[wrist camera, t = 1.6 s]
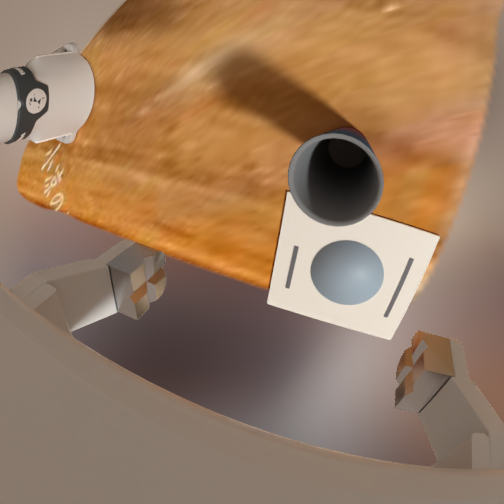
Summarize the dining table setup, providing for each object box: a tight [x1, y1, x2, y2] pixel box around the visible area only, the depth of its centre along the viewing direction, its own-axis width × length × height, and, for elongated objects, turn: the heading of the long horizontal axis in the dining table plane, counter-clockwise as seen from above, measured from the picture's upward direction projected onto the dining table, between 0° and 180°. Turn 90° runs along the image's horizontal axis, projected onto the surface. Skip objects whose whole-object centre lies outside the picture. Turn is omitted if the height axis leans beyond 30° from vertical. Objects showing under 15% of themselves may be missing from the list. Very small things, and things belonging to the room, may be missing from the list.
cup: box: [288, 127, 384, 227], centre depth 27 cm, size 7×7×15 cm
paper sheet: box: [267, 191, 440, 340], centre depth 40 cm, size 20×18×1 cm
